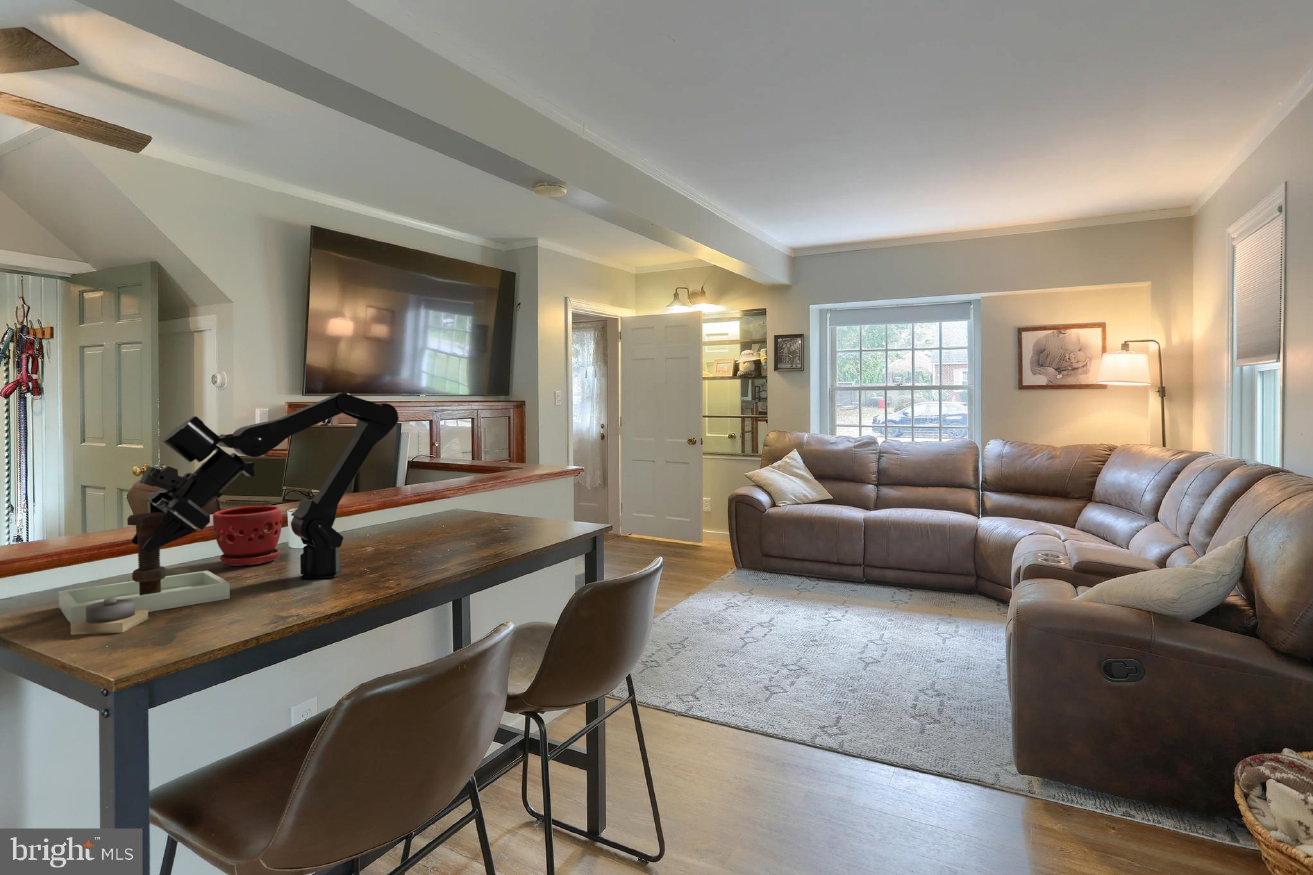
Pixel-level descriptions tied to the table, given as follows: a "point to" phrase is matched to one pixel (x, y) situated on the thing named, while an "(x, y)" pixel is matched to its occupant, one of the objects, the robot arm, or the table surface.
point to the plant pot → (248, 534)
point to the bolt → (147, 553)
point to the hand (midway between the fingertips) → (138, 546)
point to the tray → (172, 594)
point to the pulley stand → (109, 617)
